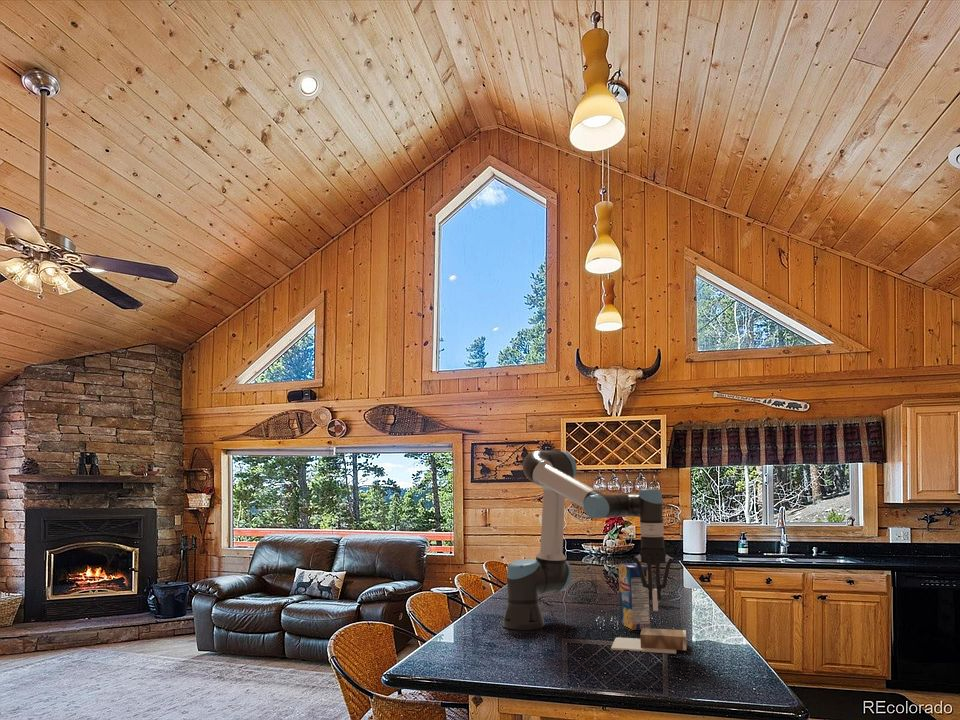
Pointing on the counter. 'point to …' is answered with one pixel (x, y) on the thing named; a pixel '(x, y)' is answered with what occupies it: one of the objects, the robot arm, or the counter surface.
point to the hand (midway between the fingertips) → (655, 610)
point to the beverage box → (633, 597)
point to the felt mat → (635, 646)
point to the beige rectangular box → (663, 639)
